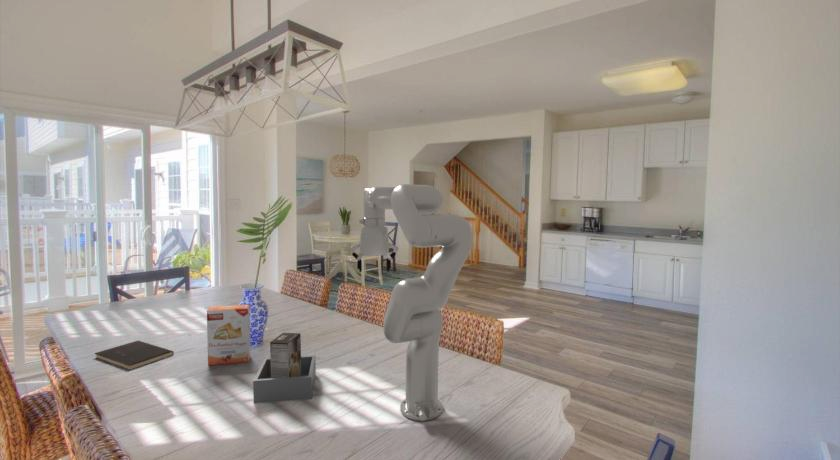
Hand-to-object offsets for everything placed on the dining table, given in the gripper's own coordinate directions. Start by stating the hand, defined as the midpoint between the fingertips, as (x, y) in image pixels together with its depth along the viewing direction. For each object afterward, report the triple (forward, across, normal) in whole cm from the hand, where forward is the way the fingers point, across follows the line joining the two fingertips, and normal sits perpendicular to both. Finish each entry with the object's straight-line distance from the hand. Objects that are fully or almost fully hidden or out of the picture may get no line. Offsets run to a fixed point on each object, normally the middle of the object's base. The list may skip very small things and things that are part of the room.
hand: (374, 270), depth 144 cm
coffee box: (+36, -29, -10) cm, 47 cm away
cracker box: (+36, -53, +15) cm, 66 cm away
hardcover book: (+37, -90, +26) cm, 101 cm away
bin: (+36, -29, -10) cm, 47 cm away
